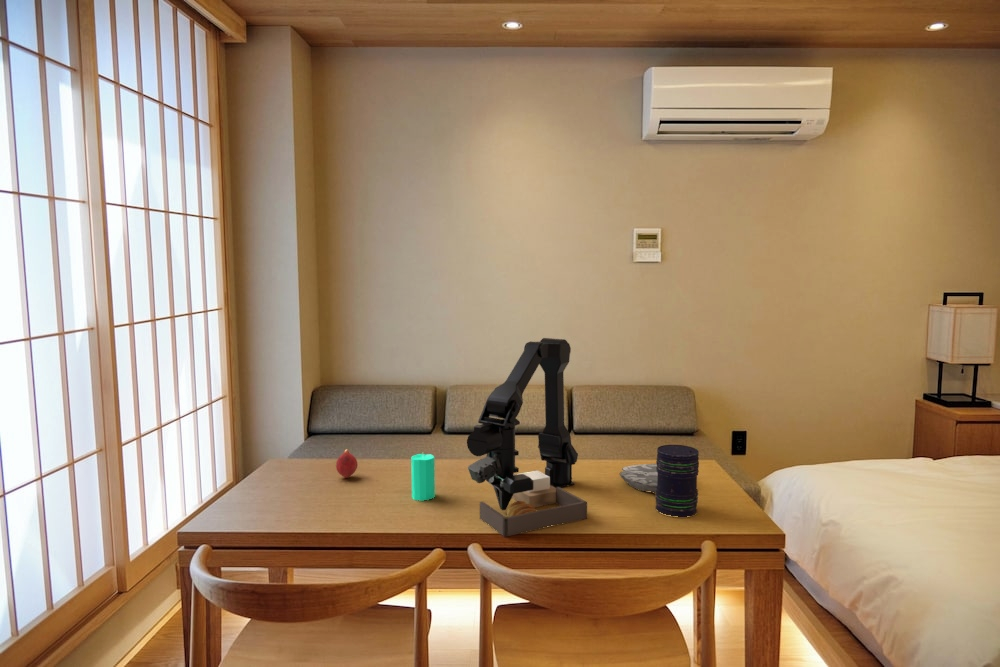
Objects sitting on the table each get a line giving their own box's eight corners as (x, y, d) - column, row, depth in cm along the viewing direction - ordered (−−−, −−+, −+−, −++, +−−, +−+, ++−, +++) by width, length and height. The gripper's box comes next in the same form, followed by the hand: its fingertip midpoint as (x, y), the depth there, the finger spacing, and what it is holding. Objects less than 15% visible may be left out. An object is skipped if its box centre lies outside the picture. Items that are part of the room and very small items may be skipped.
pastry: (546, 527, 154) (546, 511, 153) (519, 532, 151) (519, 515, 151) (529, 513, 162) (529, 497, 162) (503, 517, 160) (503, 502, 159)
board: (537, 489, 179) (537, 478, 178) (560, 502, 169) (560, 490, 169) (507, 494, 174) (507, 483, 174) (529, 508, 165) (529, 496, 165)
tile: (537, 481, 176) (537, 470, 175) (549, 488, 170) (549, 476, 170) (517, 485, 173) (517, 473, 172) (529, 492, 167) (529, 480, 167)
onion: (355, 481, 185) (354, 452, 184) (334, 481, 185) (333, 452, 184) (359, 474, 191) (359, 447, 190) (339, 474, 191) (338, 446, 190)
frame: (558, 502, 169) (558, 486, 168) (586, 518, 158) (587, 502, 158) (479, 518, 158) (479, 502, 158) (504, 536, 148) (504, 519, 148)
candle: (431, 501, 170) (430, 454, 168) (408, 499, 171) (407, 453, 169) (438, 493, 175) (437, 448, 174) (416, 492, 177) (415, 447, 175)
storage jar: (652, 514, 161) (653, 453, 159) (658, 501, 170) (659, 442, 168) (695, 520, 157) (697, 457, 156) (699, 506, 166) (701, 446, 165)
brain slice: (627, 470, 195) (627, 460, 195) (688, 477, 189) (688, 467, 189) (612, 492, 177) (612, 481, 177) (679, 500, 171) (679, 489, 171)
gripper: (455, 441, 165) (456, 503, 166) (491, 461, 148) (491, 530, 150) (495, 435, 170) (495, 495, 172) (534, 454, 154) (534, 520, 155)
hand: (503, 509), depth 162 cm, fingers closed
